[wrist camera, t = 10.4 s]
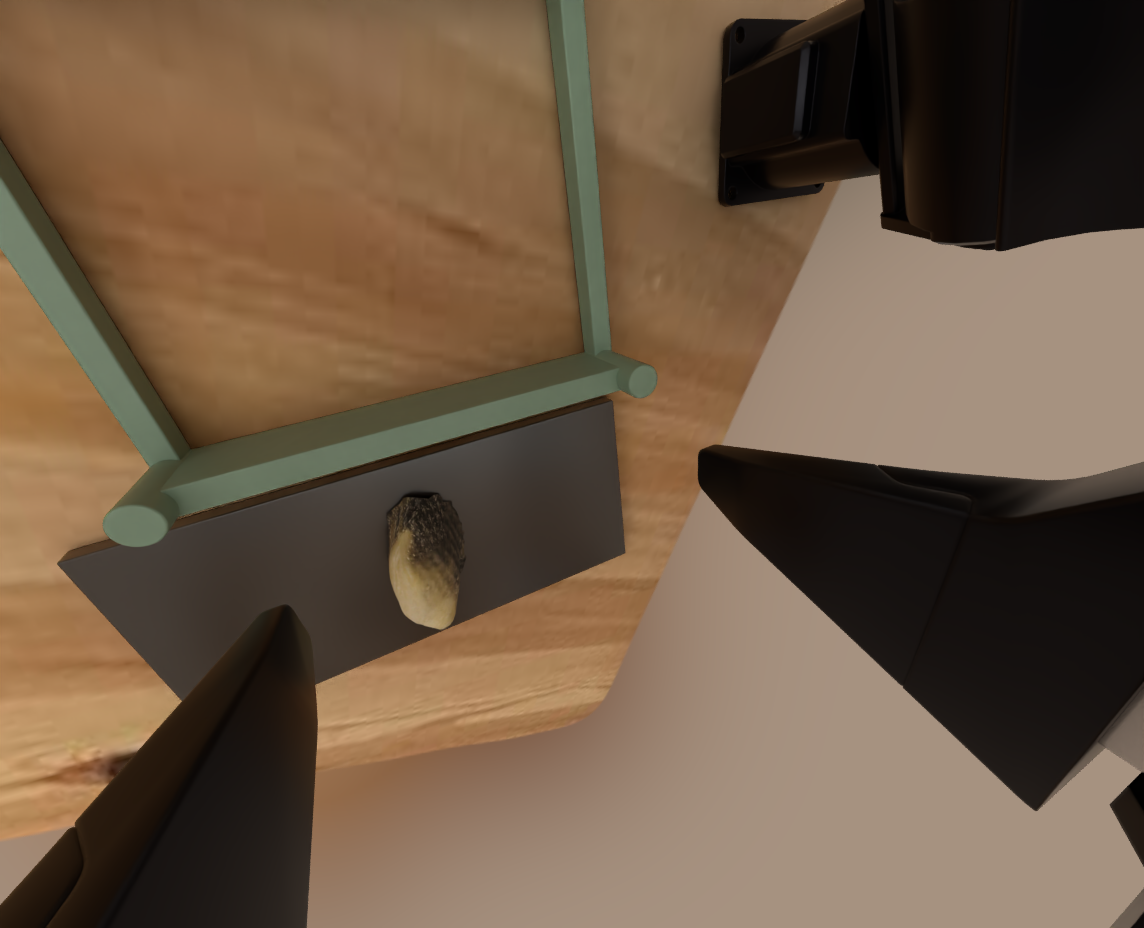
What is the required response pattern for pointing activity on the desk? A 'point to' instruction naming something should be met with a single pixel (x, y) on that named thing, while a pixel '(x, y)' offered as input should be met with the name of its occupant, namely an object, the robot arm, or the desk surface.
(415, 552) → the brazil nut
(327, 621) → the board
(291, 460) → the frame
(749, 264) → the desk surface
